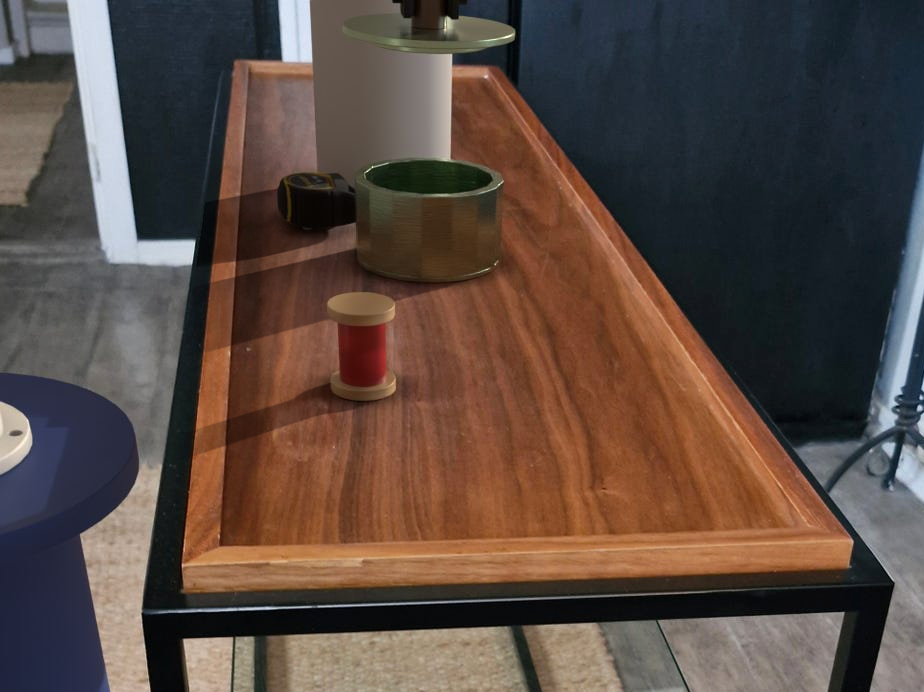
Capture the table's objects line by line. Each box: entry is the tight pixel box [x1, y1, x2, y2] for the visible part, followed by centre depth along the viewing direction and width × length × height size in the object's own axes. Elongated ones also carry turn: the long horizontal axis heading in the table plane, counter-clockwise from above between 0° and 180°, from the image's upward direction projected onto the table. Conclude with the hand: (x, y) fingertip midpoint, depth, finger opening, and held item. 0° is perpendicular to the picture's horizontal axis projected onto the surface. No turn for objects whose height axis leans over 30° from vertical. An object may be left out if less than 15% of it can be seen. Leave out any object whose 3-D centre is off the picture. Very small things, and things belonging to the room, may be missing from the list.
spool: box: [326, 291, 397, 402], centre depth 77 cm, size 4×4×6 cm
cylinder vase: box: [309, 0, 453, 189], centre depth 108 cm, size 12×12×25 cm
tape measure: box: [276, 171, 356, 231], centre depth 105 cm, size 7×7×4 cm
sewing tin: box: [354, 158, 505, 284], centre depth 98 cm, size 12×12×6 cm
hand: (429, 13), depth 88 cm, fingers closed on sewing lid, 2 cm apart
